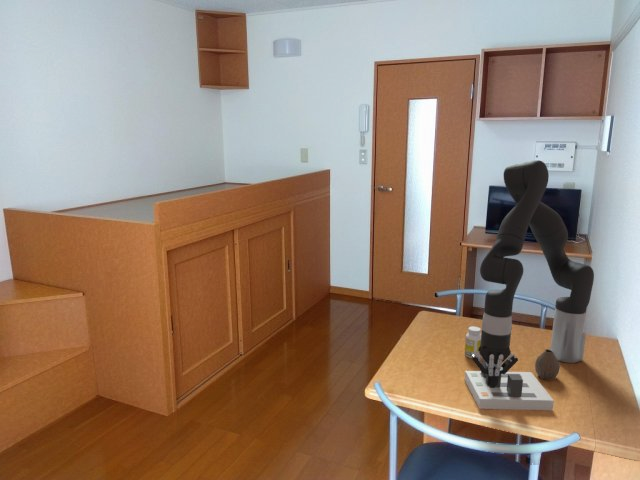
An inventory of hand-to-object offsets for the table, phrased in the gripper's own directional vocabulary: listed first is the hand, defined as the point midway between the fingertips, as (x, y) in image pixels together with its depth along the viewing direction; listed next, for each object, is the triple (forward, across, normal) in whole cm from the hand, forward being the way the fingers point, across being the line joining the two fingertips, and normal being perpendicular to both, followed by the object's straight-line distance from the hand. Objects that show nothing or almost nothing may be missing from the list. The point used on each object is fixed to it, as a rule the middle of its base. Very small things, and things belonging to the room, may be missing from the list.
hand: (491, 386), depth 136 cm
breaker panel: (+5, -6, -5) cm, 10 cm away
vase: (+6, -22, -16) cm, 28 cm away
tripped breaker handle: (+2, -6, 0) cm, 7 cm away
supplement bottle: (+6, -3, -30) cm, 31 cm away
